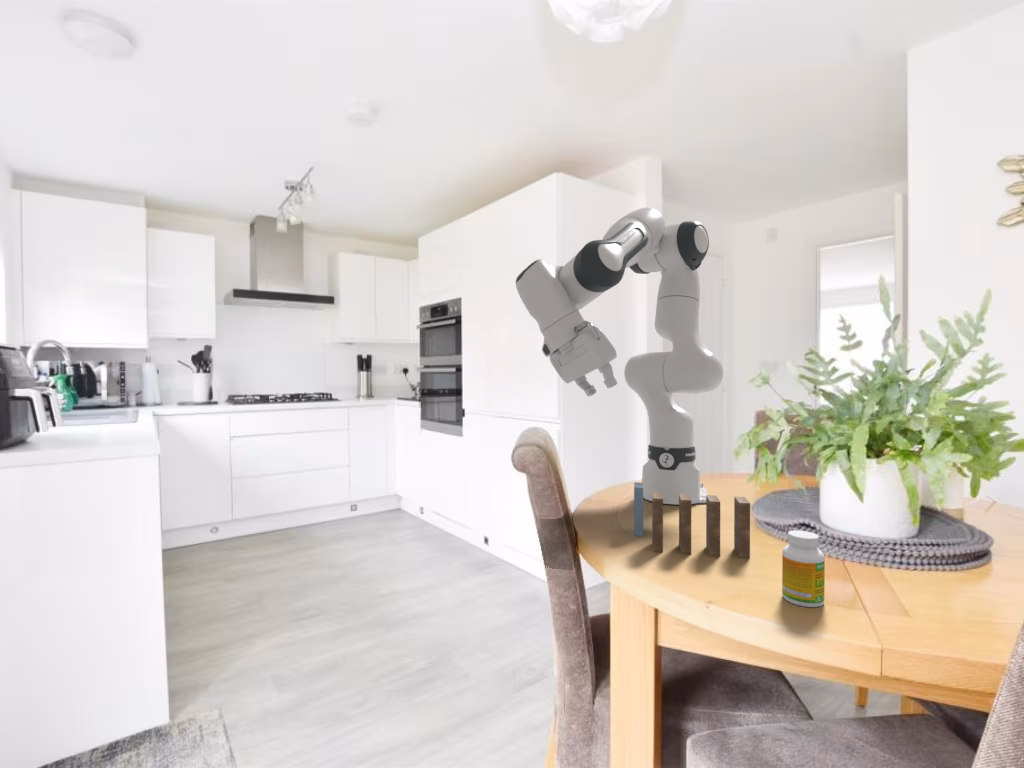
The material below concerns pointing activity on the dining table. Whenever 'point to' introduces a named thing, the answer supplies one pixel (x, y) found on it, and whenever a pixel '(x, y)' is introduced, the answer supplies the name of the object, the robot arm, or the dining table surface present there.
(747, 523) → the domino
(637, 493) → the domino
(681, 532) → the domino
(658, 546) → the domino
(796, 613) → the dining table surface
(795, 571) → the supplement bottle
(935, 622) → the dining table surface
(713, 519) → the domino
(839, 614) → the dining table surface
